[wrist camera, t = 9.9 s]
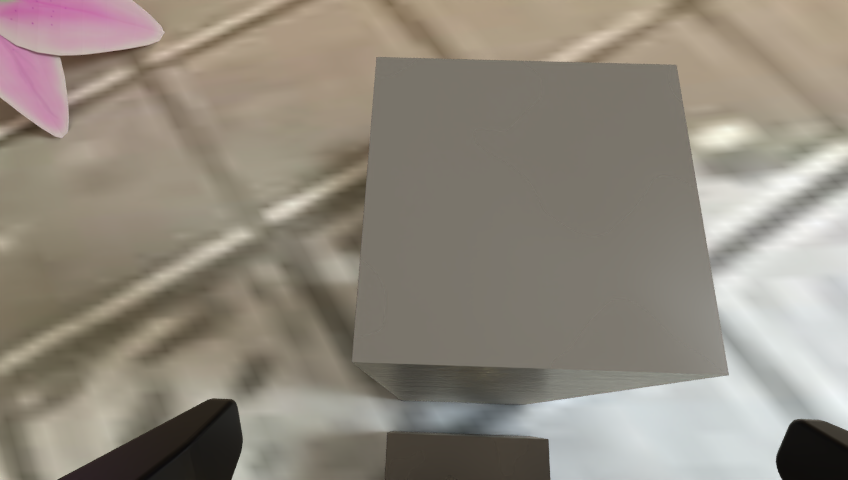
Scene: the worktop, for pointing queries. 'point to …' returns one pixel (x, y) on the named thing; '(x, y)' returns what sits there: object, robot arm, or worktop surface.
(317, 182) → the worktop surface
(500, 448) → the chain ends
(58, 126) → the lily
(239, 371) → the worktop surface
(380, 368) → the tall metal block
